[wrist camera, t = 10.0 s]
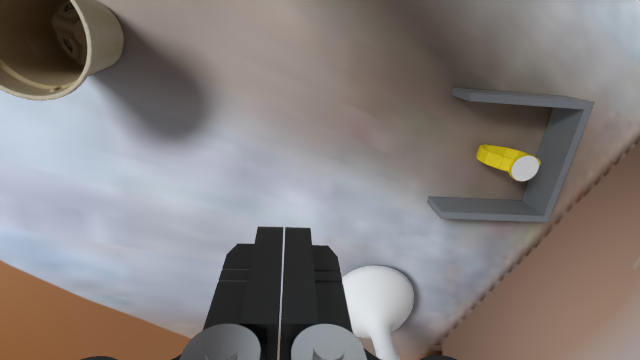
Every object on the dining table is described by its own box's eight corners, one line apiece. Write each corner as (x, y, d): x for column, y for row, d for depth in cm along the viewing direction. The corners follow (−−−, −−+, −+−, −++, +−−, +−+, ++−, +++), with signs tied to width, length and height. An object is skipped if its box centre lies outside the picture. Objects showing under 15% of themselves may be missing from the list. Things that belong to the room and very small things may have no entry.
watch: (465, 158, 39) (490, 177, 33) (473, 135, 38) (500, 150, 32) (514, 166, 39) (546, 185, 33) (523, 144, 38) (558, 160, 32)
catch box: (452, 87, 35) (471, 92, 31) (564, 95, 36) (594, 101, 33) (427, 202, 40) (440, 218, 36) (525, 206, 41) (547, 222, 38)
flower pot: (110, 106, 33) (53, 126, 25) (16, 38, 31) (-83, 36, 23) (162, 31, 31) (116, 27, 23) (65, -50, 28) (-25, -87, 20)
